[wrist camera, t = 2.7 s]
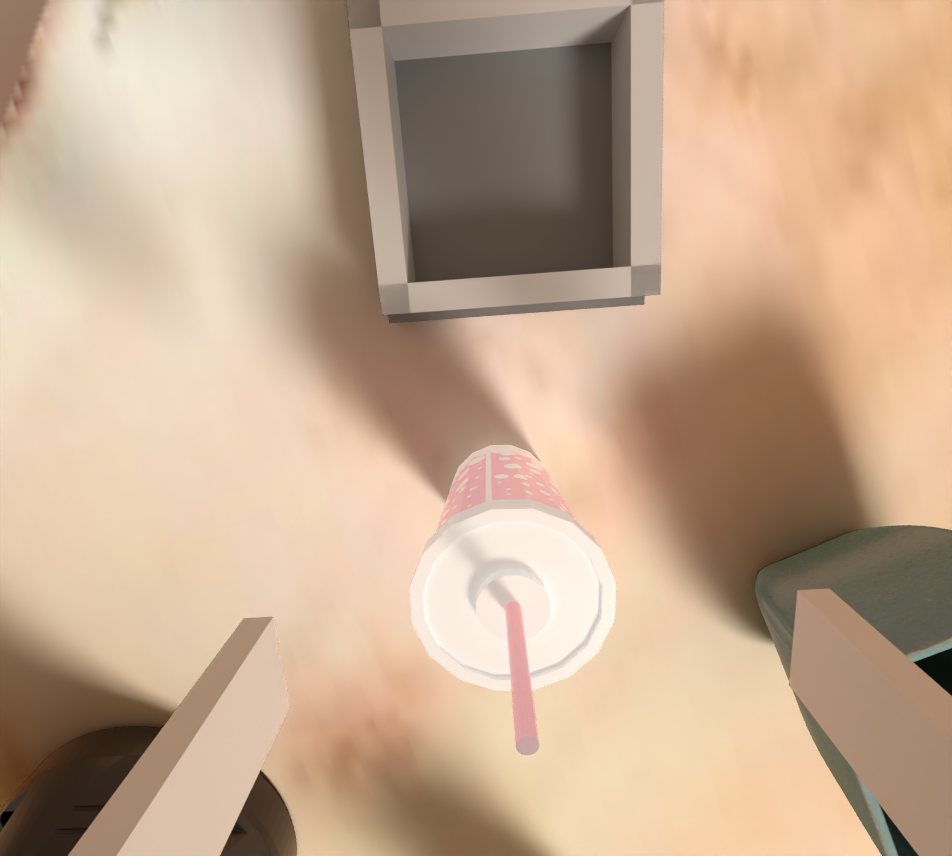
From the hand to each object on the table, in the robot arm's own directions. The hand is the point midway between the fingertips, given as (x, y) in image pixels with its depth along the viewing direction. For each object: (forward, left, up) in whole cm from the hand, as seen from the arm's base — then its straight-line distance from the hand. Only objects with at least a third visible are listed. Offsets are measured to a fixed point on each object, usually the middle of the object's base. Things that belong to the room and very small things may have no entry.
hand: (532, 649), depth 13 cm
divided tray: (+1, +17, -11) cm, 21 cm away
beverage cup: (0, 0, -11) cm, 11 cm away
